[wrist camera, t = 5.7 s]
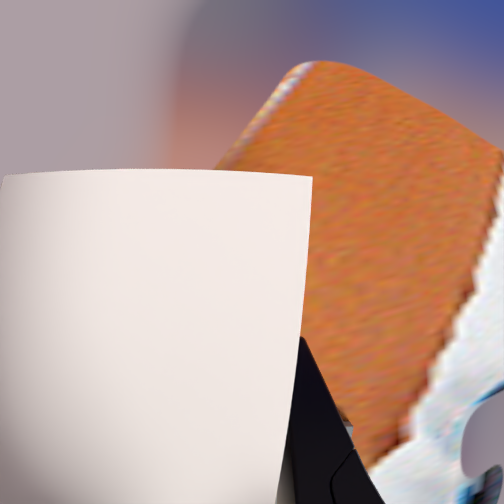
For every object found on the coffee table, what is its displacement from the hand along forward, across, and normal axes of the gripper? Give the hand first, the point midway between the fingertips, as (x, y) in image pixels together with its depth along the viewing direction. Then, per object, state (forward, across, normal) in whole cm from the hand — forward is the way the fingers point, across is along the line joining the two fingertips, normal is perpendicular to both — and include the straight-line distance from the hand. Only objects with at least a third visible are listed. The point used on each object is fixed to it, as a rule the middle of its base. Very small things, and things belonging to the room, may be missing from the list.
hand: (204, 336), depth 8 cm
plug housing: (+4, 0, +6) cm, 7 cm away
